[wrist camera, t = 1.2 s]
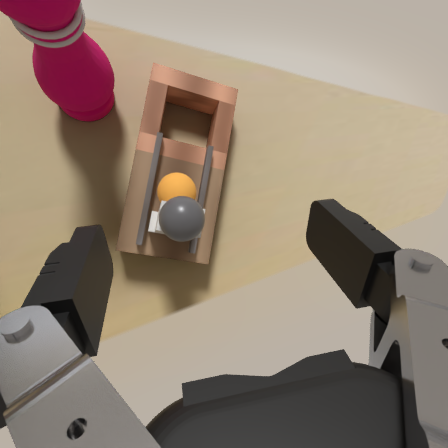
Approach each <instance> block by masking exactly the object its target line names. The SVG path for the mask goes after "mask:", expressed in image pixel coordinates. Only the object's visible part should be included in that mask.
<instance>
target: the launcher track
mask: <svg viewBox="0 0 448 448" xmlns="http://www.w3.org/2000/svg"><path fill="white" fill-rule="evenodd" d="M237 93H238V89H235V88H232V87H228V86H225V85H222V84H219V83H216V82H213V81H210V80H206V79H203V78H200V77H197V76H194V75H191V74H188V73H184V72H181V71H178V70H175V69H172V68H169V67H166V66H162V65H159V64H156V63H153V66H152V71H151V76H150V81H149V86H148V91H147V96H146V101H145V106H144V111H143V116H142V121H141V126H140V131H139V136H138V141H137V146H136V151H135V156H134V161H133V166H132V171H131V176H130V181H129V186H128V191H127V196H126V201H125V206H124V211H123V216H122V221H121V226H120V231H119V236H118V241H117V246H116V251H123V252H130V253H136V254H143V255H150V256H156V257H163V258H170V259H176V260H183V261H189V262H196V263H203V264H209V258H210V252H211V246H212V240H213V234H214V228H215V222H216V217H217V211H218V205H219V199H220V193H221V187H222V181H223V175H224V170H225V164H226V158H227V152H228V146H229V140H230V134H231V128H232V122H233V117H234V111H235V105H236V99H237ZM166 102H169V103H172V104H176V105H179V106H183V107H186V108H189V109H193V110H196V111H200V112H203V113H207V114H210V115H212V118H211V124H210V129H209V135H208V141H207V146H206V148H202V147H199V146H195V145H191V144H187V143H183V142H179V141H175V140H171V139H167V138H163V133H160V131H161V126H162V121H163V115H164V110H165V105H166ZM170 173H183V174H185V175H187V176H188V177H190V178H191V179H192V181H193V182H194V184H195V187H196V198H195V200H196V201H197V202H198V203H199V204H200V205H201V207H202V209H205V224H204V227H203V229H202V232H201V238H194V239H192V240H189V241H185V242H178V241H174V240H172V239H170V238H169V237H167V236H166V235H165V234H160V233H154V232H148V229H149V224H150V219H151V214H152V211H156V212H158V211H159V208H160V204H161V202H160V201H159V198H158V194H157V189H158V185H159V183H160V181H161V180H162V178H163V177H165V176H166V175H168V174H170Z"/></svg>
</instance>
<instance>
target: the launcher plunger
mask: <svg viewBox="0 0 448 448" xmlns="http://www.w3.org/2000/svg"><path fill="white" fill-rule="evenodd" d="M204 224H205V209H202V207H201V205H200V204H199V203H198V202H197V201H196V200H194V199H192V198H190V197H187V196H177V197H174V198H171V199H169V200H168V201H161V204H160V208H159V211H158V212H156V211H152V214H151V219H150V224H149V229H148V232H154V233H160V234H165V235H166V236H167V237H169V238H170V239H172V240H174V241H178V242H185V241H189V240H192V239H194V238H201V232H202V229H203V227H204Z"/></svg>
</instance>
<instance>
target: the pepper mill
mask: <svg viewBox="0 0 448 448" xmlns="http://www.w3.org/2000/svg"><path fill="white" fill-rule="evenodd" d="M0 11H1V12H3V13H4V14H5V15H7V16H8V17H9V18H10V19H11V21H12V23H13V24H14V26H15V27H16V29H17V30H18V31H19V32H20V33H21V34H22V35H23V36H24V37H25V38H26V39H28V40H30V41H31V42H33V43H34V50H33V57H32V58H33V67H34V72H35V76H36V78H37V81H38V83H39V85H40V87H41V88H42V90H43V91H44V93H45V94H46V95H47V96H48V97H49V98H50V99H51V100H52V101H53V102H55V103H56V104H57V105H59V106H60V107H61V108H62V110H63V111H64V112H65V113H66V114H68V115H69V116H71V117H72V118H75V119H77V120H81V121H96V120H99V119H101V118H103V117H105V116H106V115H107V114H108V113H109V112H110V111H111V109H112V107H113V104H114V92H113V89H114V73H113V70H112V67H111V65H110V62H109V60H108V58H107V56H106V55H105V53H104V52H103V50H102V49H101V48H100V47H99V45H98V44H97V43H96V42H95V41H94V40H93V39H91V38H90V37H89V36H88V35H87V34H86V33H84V31H83V30H84V27H85V14H84V10H83V8H82V3H81V0H0Z"/></svg>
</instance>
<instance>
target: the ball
mask: <svg viewBox="0 0 448 448" xmlns="http://www.w3.org/2000/svg"><path fill="white" fill-rule="evenodd" d="M157 194H158V198H159V201H160V202H161V201H168V200H169V199H171V198H174V197H177V196H187V197H190V198H192V199H194V200H195V198H196V187H195V184H194V182H193V181H192V179H191V178H190V177H188V176H187V175H185V174H183V173H170V174H168V175H166V176H165V177H163V178H162V180H161V181H160V183H159V185H158V189H157Z"/></svg>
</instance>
